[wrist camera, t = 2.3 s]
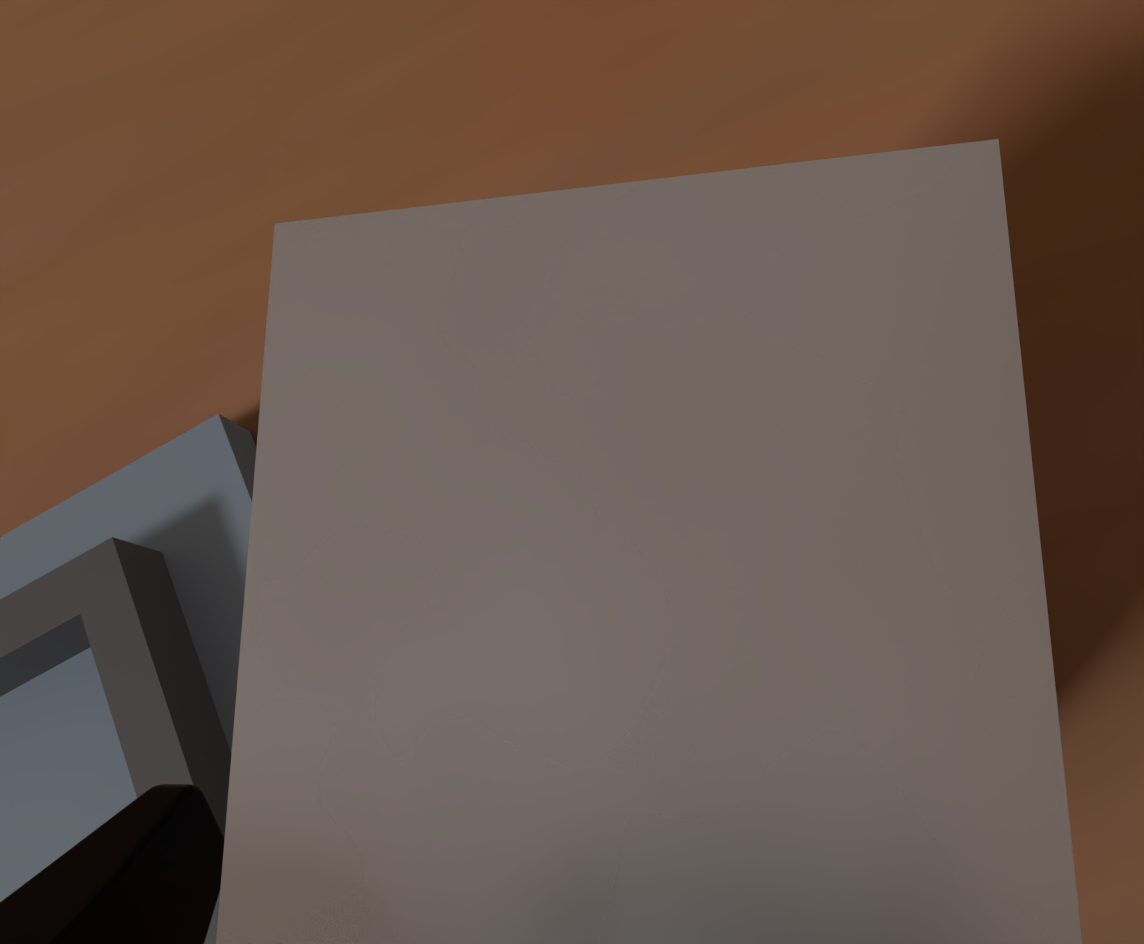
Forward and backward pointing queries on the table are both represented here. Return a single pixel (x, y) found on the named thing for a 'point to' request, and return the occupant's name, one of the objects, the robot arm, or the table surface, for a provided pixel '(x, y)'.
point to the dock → (122, 645)
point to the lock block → (651, 573)
